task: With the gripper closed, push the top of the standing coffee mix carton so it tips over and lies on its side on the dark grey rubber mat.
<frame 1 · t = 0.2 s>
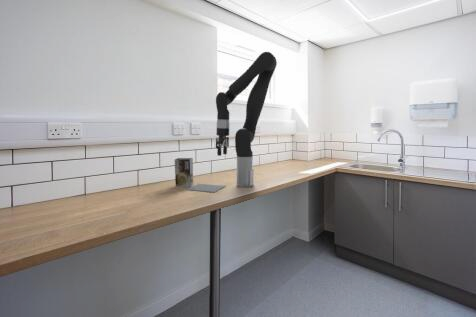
hand: (222, 154, 156), 18 cm above the counter, tool pointing down, fingers open, 8 cm apart
mat: (206, 188, 147), on the counter
coffee box: (184, 186, 153), on the counter
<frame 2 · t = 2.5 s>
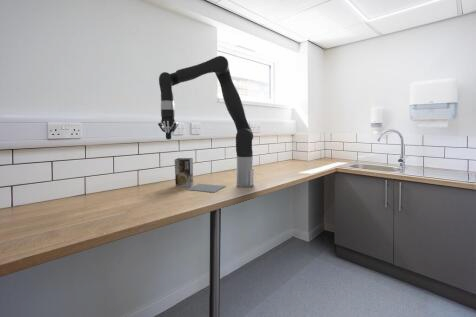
hand: (168, 139, 153), 27 cm above the counter, tool pointing down, fingers closed
nothing on the counter moved.
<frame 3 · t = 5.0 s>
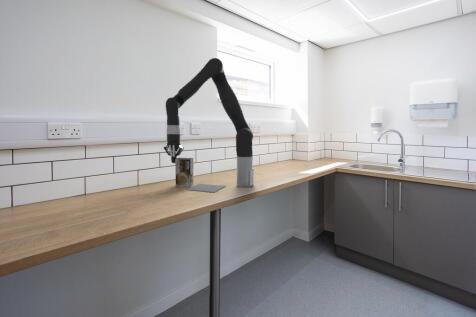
hand: (173, 162, 153), 13 cm above the counter, tool pointing down, fingers closed
coffee box: (184, 186, 153), on the counter, touching gripper
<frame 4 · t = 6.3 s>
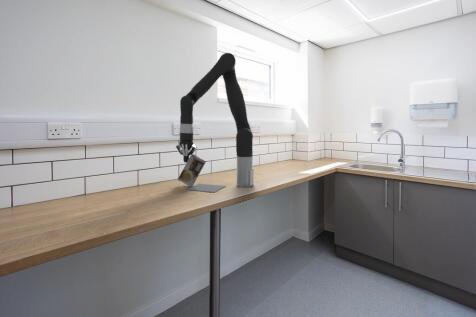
hand: (186, 162, 151), 14 cm above the counter, tool pointing down, fingers closed
coffee box: (185, 182, 152), point 2 cm above the counter, touching gripper
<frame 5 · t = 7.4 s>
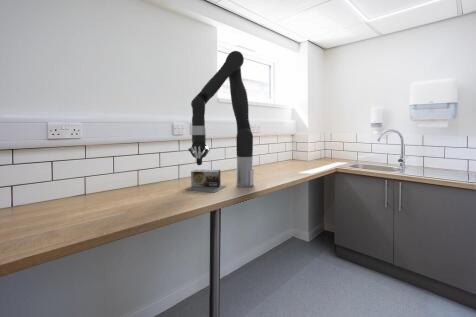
hand: (199, 165, 147), 13 cm above the counter, tool pointing down, fingers closed
coffee box: (191, 177, 151), point 5 cm above the counter, touching mat
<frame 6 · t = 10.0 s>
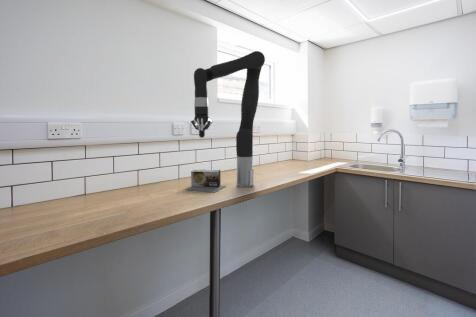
hand: (201, 137, 148), 28 cm above the counter, tool pointing down, fingers closed
nothing on the counter moved.
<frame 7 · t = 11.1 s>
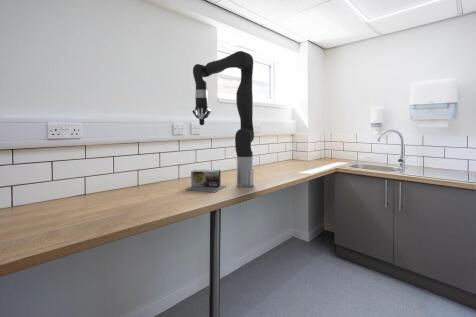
hand: (201, 125, 168), 35 cm above the counter, tool pointing down, fingers closed
nothing on the counter moved.
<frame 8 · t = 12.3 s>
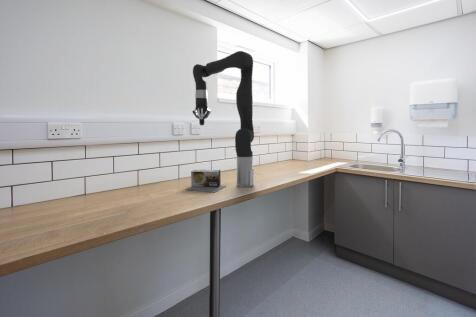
hand: (201, 125, 168), 35 cm above the counter, tool pointing down, fingers closed
nothing on the counter moved.
at the end: coffee box tilted 91°; coffee box touching mat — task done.
